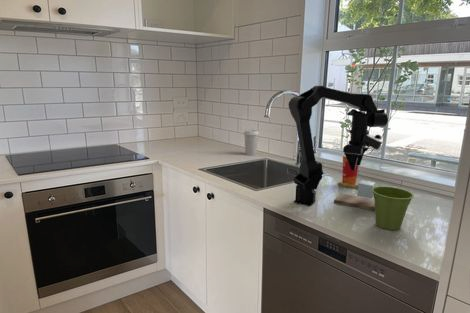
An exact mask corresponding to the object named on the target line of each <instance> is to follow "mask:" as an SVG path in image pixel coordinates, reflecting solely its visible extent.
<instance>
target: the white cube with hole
mask: <svg viewBox="0 0 470 313" xmlns="http://www.w3.org/2000/svg"><path fill="white" fill-rule="evenodd" d="M357 186H358V190H357V194H356V196H359V197H364V198H370V199H373V198H374V193H373V192H372V188H374V187H376V182H375V181H369V180H362V179H361V180H360V181H359V182H358V185H357Z"/></svg>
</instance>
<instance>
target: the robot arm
mask: <svg viewBox="0 0 470 313" xmlns="http://www.w3.org/2000/svg"><path fill="white" fill-rule="evenodd" d="M321 99H327V100H330V101H336V102H340V103H343V104H345V105H346V106H348V107H350V108H352V109H351V110H350V111H349V112H347V114H346V115H347V116H352V117H351V128H350V130H349V134H350V139H349V141H348V143H346V144H345V146H343V150H342V151H343V152H342V153H344V154H345V155H346V158H347V160H348V163H349V165H350V168H351V170H353V171H354V170H355V167H356V164H357V165H358V166H361V163H362V160H363V157H364V155H365V153H366V152H367V151H369V149H370V148H371V147H372V148H373V149H374V150H379V149H380V148H381V146H382V144H383V143H384V140H383V139H382V135H380V134H379V133H378V134H375V135H372V134H370V131H369V129H368V127H369V128H382V127H386V125H387V124H388V122H389V118H388V115H387V113H386V109H384V108H377V106H376V104H375V102H374V98H373V96H372V95H371V94H369V93H355V92H353V93H351V92H346V91H343V90H338V89H334V88H330V87H326V86H324V85H314V86H313V87H311V88H310V89H308V90H306V91H304V92H302V93H300V94H299V95H297V96H293V97H291V99H290V100H289V101H288V109H289V111H290V114H291V116H292V118H293V120H294V122H295V124H296V132H297V137H298V143H299V144H298V145H299V148H300V149H299V150H300V154H301V155H300V156H301V161H300V165H299V172H298V173H297V174H296V176H294V178H293V181H294V184H295V185H296V186H295V196H294V197H295V199H294V200H293V203H294V204H298V205H304V206H308V207H310V206H312V205H313V204H314V203H315V202H316V198H317V197H316V196H317V195H316V194H317V191H316V190H318V187H319V184H320V182H321V181H322V179H323V175H324V174H325V173H324V171H323V164H322V162H320V161H318V160H317V159H316V155H315V149H314V142H313V137H312V136H313V135H312V129H311V121H310V120H311V118H312V114H313V107H315V106H316V105H317V104H318V103H319V102H320V100H321Z"/></svg>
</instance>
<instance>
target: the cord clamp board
mask: <svg viewBox="0 0 470 313" xmlns="http://www.w3.org/2000/svg"><path fill="white" fill-rule="evenodd" d="M379 186H380V185H378V186H377V187H379ZM337 187H340V188H343V189H350V190H355V191H358V185H357V184H355V185H351V184H345V183H342V182H338V183H337ZM333 203H334V204H337V203H338V205H343V206H348V207H354V208H359V209H364V210H369V211H373V212H375V199H374V198H366V197H360V196H357V195H352V194H348V193H347V194H346V193H342V192H341V193H340V194H338V195H337V196H336V197H335V198H334V199H333Z"/></svg>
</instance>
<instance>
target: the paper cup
mask: <svg viewBox="0 0 470 313" xmlns="http://www.w3.org/2000/svg"><path fill="white" fill-rule="evenodd" d="M341 155H342V178H341V179H342V180H341V183H345V184H351V185H357V178H358V171H359V165H357V164H356V167H355V170H354V171H353V170H351V168H350V165H349V163H348V160H347V158H346V155H345V154H344V152H342V154H341Z"/></svg>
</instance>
